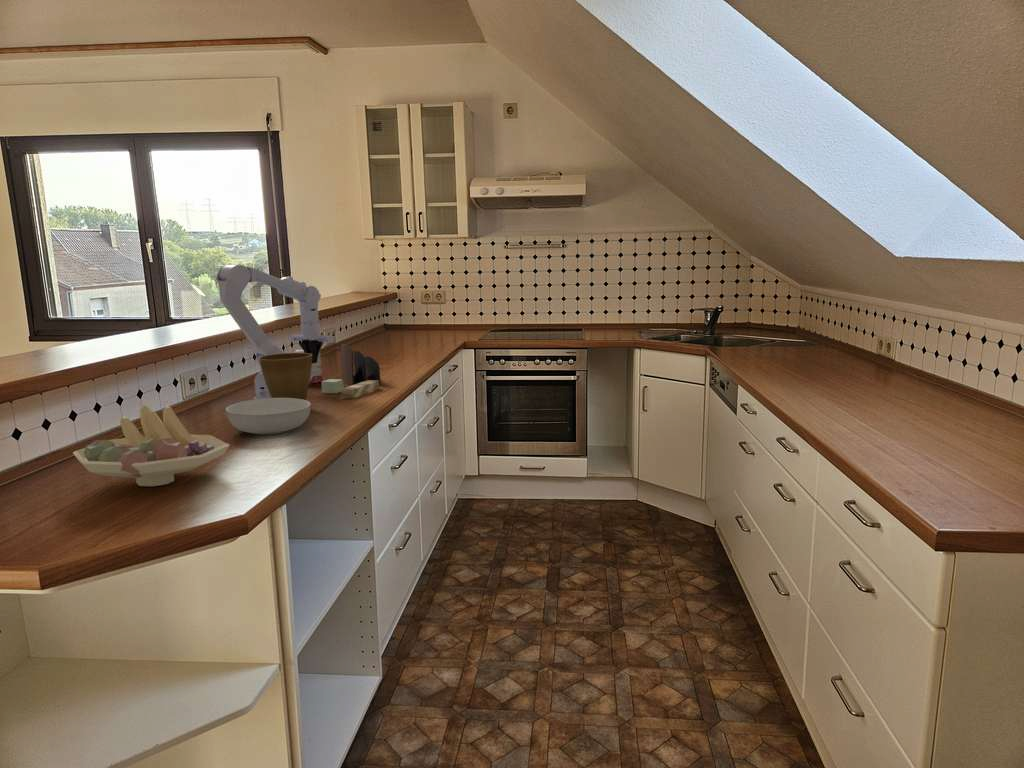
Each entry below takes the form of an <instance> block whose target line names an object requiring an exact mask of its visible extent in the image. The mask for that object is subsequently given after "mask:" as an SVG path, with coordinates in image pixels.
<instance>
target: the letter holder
mask: <svg viewBox="0 0 1024 768" xmlns="http://www.w3.org/2000/svg"><path fill="white" fill-rule="evenodd" d="M340 348H341V349H340V351H341V352H340V353H341V356H340V363H341V380H343V382H345V383H346V384H347V385H348V386H349V385H350V386H352V385H355V384H358V383H361V382H364V381H367V380H377V381H379V387H380V386H381V385H382V383H381V373H380V372H381V371H380V370H381V369H380V364H379V363H378V361H377V360H376V359H375V358H374V357H372V356H365V355H364V353H362V352H361V351H359V350H353V349H352V348H351V346H350V345H349V344H348V343H342V344H341V345H340Z"/></svg>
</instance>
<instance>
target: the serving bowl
mask: <svg viewBox="0 0 1024 768" xmlns="http://www.w3.org/2000/svg"><path fill="white" fill-rule="evenodd" d="M311 406H312V403H311V402H310V401H308V400H303V399H296V398H265V399H250V400H244V401H240V402H236V403H233V404H230V405H229V406H227V407H226V408H225V413H226V416H227V420H228V421H229V422H230V424H231V425H232V426H233V427H234V428H235V429H237V430H239V431H241V432H244V433H249V434H255V435H258V434H260V435H259V436H267V435H269V434H272V435H278V433H279V434H282V432H283V433H285V431H286V432H288V431H290V430H294V429H296V428H298V427H299V426H301V425H303V424H304V423H305V422H306V421H307V420H308V417H309V416H310V412H311V410H312V407H311ZM269 436H270V435H269Z"/></svg>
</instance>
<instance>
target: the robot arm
mask: <svg viewBox="0 0 1024 768" xmlns="http://www.w3.org/2000/svg"><path fill="white" fill-rule="evenodd" d="M215 280H216V282H217V285H218V291H219V300H220V302H221V303H222V305H223V307H224V308H225V309H226V310H227V312H228V313H229V315H230V317H232V319H233V320H234V321H235V323H236V324H237V326H238V327H239V329H240V330H241V331H242V333H243V334H244V336H245V337H246V338H247V339H248V341H249V343H250V344H251V345H252V347H253V350H252V352H253V354H254V355H255V358H256V362H257V364H258V365H259V366H260V372H258V373H257V374H256V375H255V377H254V382H253V383H254V392H255V397H253V400H255V399H265V398H271V395H270V393H269V390H268V388H267V385H266V382H265V379H264V376H263V372H262V368H261V365H260V360H259V358H260V357H262V356H267V355H273V354H283V353H286V352H284V351H283V350H282V349H280V348H279V347H278V345H276V344H275V343H274V342H273V341H271V340H270V339H269V337H268V335H266V333H265V332H264V330H263V329H262V327H261V326H260V325H259V323H258V321H257V320H256V319H255V316H253V314H252V312H251V311H250V310H249V308H248V307H247V305H246V304H245V303H244V301H243V300H242V296H243V292H244V290H245V289H246V287H247V286H248V284H249V283H255V282H256V283H258V284H262V285H264V286H268V287H271V288H275V289H276V290H277V292H278V294H280V295H281V296H285V297H287V298H290V299H293V300H297V302H298V303H299V313H300V328H301V330H300V331H301V334H291V335H290V338H291V339H290V340H291V342H295V341H297V342H300V343H299V346H300V348H301V350H303V351H304V353H310V354H312V363H317V360H318V355H319V351H320V352H321V349H322V346H323V345H324V343H330V342H332V336H331V335H325V334H321V333H320V321H319V320H320V319H319V318H320V317H319V301H320V300H321V297H322V294H321V293H320V291H319V289H318V288H317V287H316V286H314V285H307V284H306V281H305V282H304V281H301V282H300V281H298V280H295V279H294V277H293V276H284V277H281V278H278V277H276V276H275V275H272V274H269V273H267V272H264V271H262V270H259V269H258V268H255V267H251V266H246V265H244V264H223V265H222V266H220V267H219V269H218V271H217V274H216V277H215Z"/></svg>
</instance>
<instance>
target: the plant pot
mask: <svg viewBox="0 0 1024 768" xmlns="http://www.w3.org/2000/svg"><path fill="white" fill-rule="evenodd" d="M259 360H260V365H261V366H260V365H259V366H260V369H261V368H262V372H263V376H264V379H265V382H266V385H267V388H268V390H269V393H270V395H271V398H296V399H303V400H306V399H307V396H308V391H309V388H310V387H309V386H310V383H309V382H310V376H311V367H312V354H310V353H294V352H289V353H288V352H287V353H286V352H285V353H283V354H273V355H267V356H262V357H260V358H259Z"/></svg>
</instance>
